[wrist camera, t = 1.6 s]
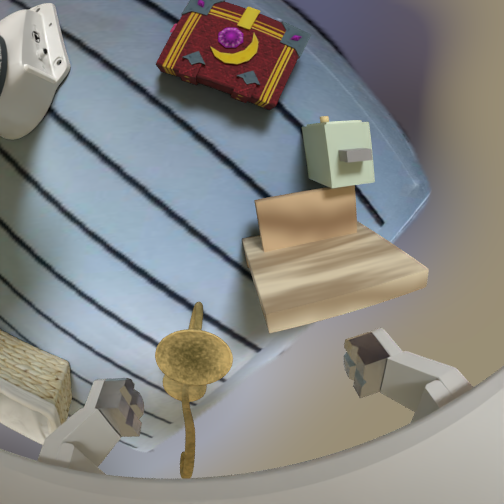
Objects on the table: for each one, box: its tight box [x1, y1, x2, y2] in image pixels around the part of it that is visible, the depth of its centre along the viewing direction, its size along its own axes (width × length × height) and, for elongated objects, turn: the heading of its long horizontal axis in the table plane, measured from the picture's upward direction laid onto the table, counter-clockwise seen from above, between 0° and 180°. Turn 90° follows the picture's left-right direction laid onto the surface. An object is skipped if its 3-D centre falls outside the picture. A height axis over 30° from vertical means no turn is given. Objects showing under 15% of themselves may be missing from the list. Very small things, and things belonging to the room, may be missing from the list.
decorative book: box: [156, 0, 311, 110], centre depth 27 cm, size 11×16×5 cm
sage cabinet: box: [302, 116, 375, 188], centre depth 31 cm, size 8×6×10 cm
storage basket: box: [0, 330, 72, 445], centre depth 36 cm, size 24×16×15 cm
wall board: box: [242, 185, 429, 333], centre depth 31 cm, size 10×16×18 cm, turn 99°
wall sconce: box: [155, 302, 233, 478], centre depth 31 cm, size 14×10×25 cm
